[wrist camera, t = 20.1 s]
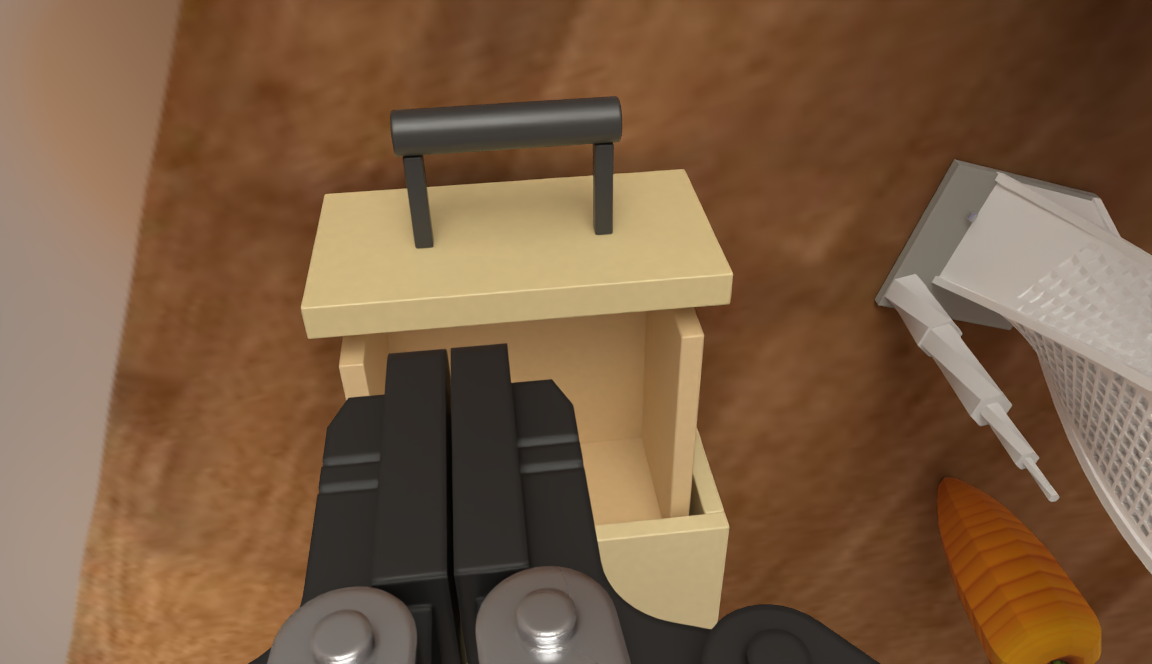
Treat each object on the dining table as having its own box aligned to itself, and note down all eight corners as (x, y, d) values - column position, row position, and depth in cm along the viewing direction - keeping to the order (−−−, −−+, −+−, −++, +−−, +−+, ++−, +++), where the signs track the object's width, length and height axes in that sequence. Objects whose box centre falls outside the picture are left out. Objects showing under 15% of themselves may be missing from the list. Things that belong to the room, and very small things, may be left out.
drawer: (298, 68, 31) (265, 167, 25) (692, 45, 32) (748, 135, 26) (378, 458, 42) (368, 589, 36) (668, 430, 43) (704, 554, 37)
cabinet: (357, 404, 41) (339, 567, 34) (680, 375, 42) (730, 527, 35) (400, 607, 50) (393, 771, 42) (666, 578, 51) (704, 733, 44)
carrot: (888, 514, 50) (1030, 788, 38) (912, 447, 47) (1074, 721, 35) (975, 508, 50) (1141, 776, 38) (1004, 442, 47) (1193, 710, 35)
